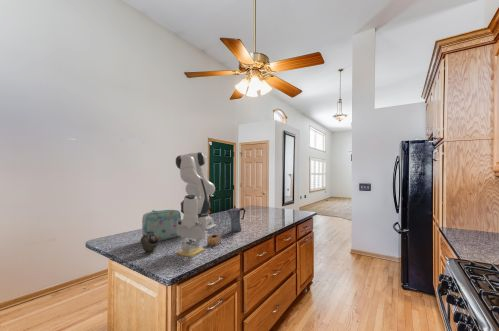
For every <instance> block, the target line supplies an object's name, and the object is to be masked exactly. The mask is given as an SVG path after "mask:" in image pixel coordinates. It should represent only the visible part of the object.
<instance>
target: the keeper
mask: <svg viewBox="0 0 499 331" xmlns="http://www.w3.org/2000/svg"><path fill="white" fill-rule="evenodd" d="M193 240H194V239H192V238H188V241H189V244H191V243H193ZM205 251H206V249H205V248H202V247H199V249H198V250H196V251H194V252H192V253H190V254H189V253H184V252H182V249H180V250H178V251H176V252H175V254H176V255H179V256H184V257H187V258H193V257H195V256H197V255H199V254H202V253H203V252H205Z"/></svg>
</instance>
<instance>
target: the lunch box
mask: <svg viewBox="0 0 499 331" xmlns="http://www.w3.org/2000/svg"><path fill="white" fill-rule="evenodd" d="M141 220H142V221H141V222H142V225H141V226H142V227H141V228H142V237H143V236H144V235H145V234H148V233H151V232H152V231H153V234H154V235H156V236H157V238H158V242H161V241H165V240H170V239H174V238H177V237H179V236H178V235H177V221H180V220H182V216H181V211H179V210H178V209H177V210H176V209H163V210H154V209H153V210H151V211H149V212H146V213H144V214H143V216H142V217H141ZM143 234H144V235H143Z"/></svg>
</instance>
